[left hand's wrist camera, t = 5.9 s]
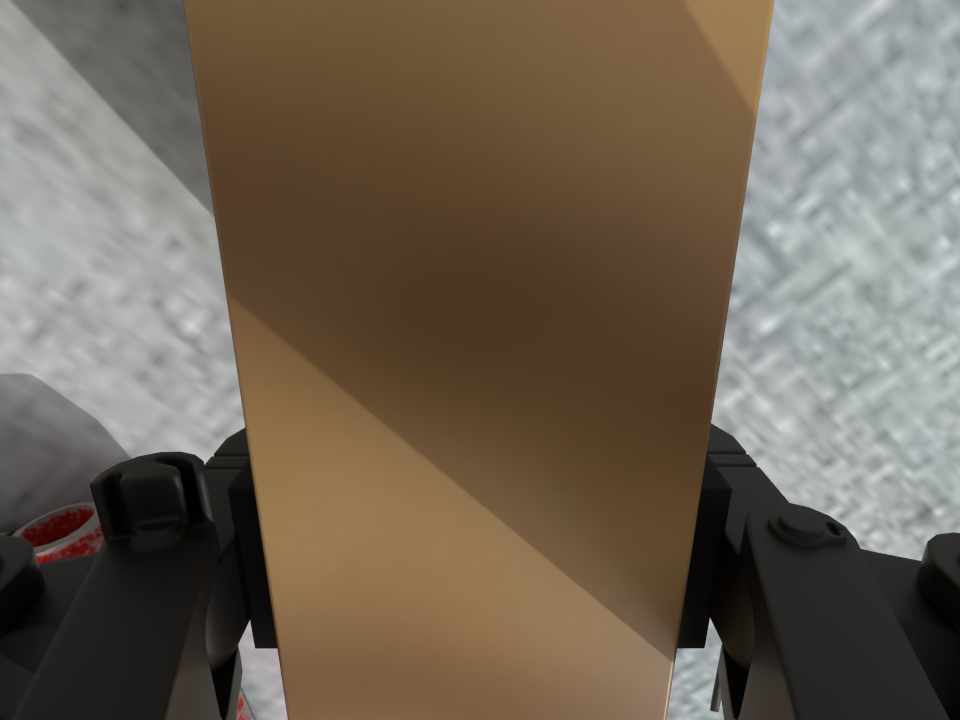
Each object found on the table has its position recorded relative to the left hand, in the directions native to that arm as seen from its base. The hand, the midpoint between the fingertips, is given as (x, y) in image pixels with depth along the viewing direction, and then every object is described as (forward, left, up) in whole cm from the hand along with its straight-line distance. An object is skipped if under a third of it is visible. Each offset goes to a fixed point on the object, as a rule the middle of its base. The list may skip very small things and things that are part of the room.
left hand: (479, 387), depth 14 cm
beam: (-4, +35, -1) cm, 35 cm away
